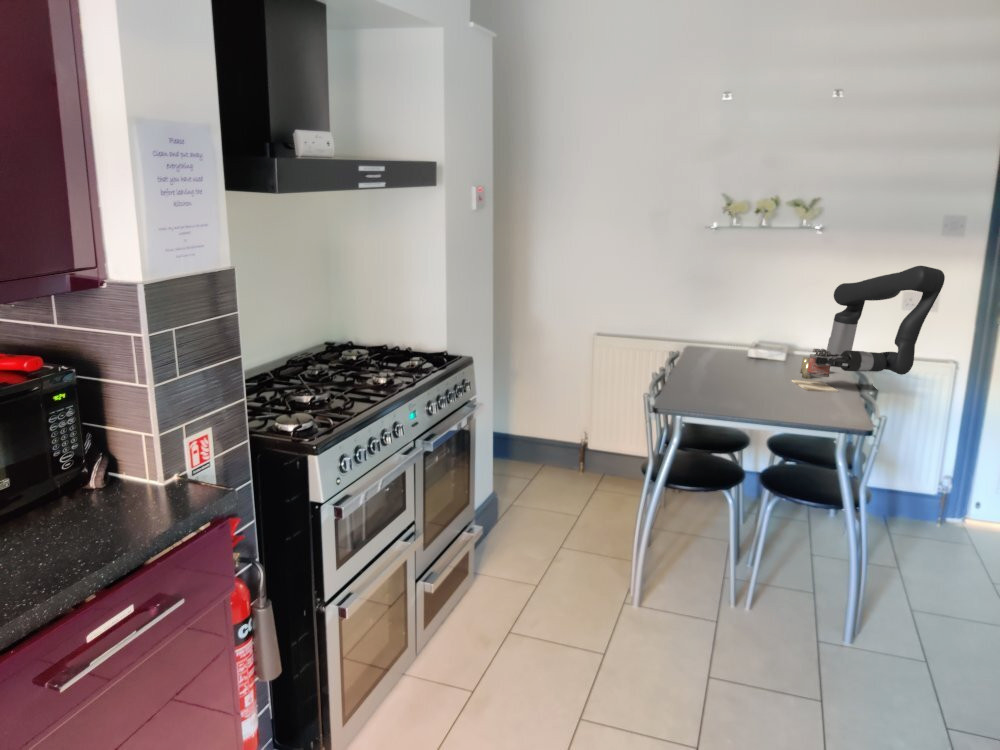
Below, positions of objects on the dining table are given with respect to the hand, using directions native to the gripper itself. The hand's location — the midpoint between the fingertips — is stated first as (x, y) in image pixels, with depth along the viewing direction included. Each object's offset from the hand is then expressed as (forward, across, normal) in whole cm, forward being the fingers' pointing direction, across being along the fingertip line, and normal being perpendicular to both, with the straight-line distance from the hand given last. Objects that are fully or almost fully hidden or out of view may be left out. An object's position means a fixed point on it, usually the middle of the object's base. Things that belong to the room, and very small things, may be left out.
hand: (813, 359), depth 297 cm
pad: (-3, 0, +10) cm, 11 cm away
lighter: (-3, 0, +6) cm, 7 cm away
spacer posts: (-11, -16, +10) cm, 22 cm away
